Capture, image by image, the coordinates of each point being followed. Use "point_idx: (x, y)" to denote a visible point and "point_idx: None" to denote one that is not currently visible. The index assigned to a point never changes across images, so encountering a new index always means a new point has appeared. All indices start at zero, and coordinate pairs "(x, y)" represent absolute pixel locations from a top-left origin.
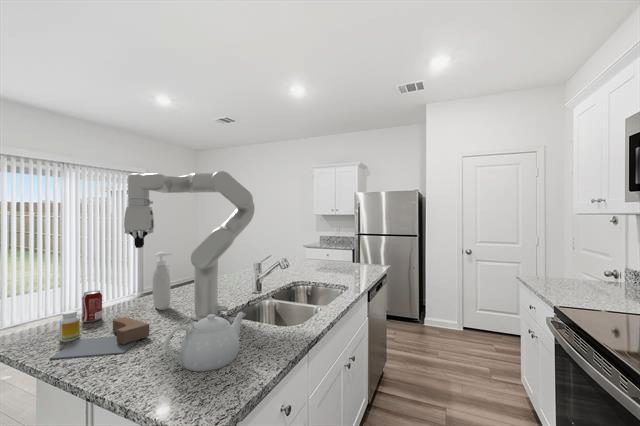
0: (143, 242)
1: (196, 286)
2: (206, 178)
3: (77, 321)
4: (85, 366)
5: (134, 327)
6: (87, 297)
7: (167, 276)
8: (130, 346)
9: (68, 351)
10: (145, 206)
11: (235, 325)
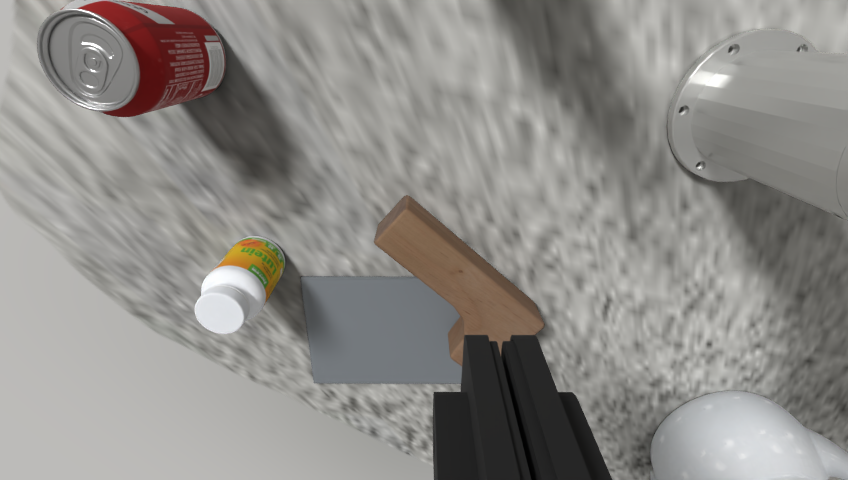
0: (584, 441)
1: (819, 200)
2: None
3: (266, 295)
4: (429, 421)
5: None
6: (118, 115)
7: None
8: None
9: (334, 356)
10: None
11: (838, 477)
